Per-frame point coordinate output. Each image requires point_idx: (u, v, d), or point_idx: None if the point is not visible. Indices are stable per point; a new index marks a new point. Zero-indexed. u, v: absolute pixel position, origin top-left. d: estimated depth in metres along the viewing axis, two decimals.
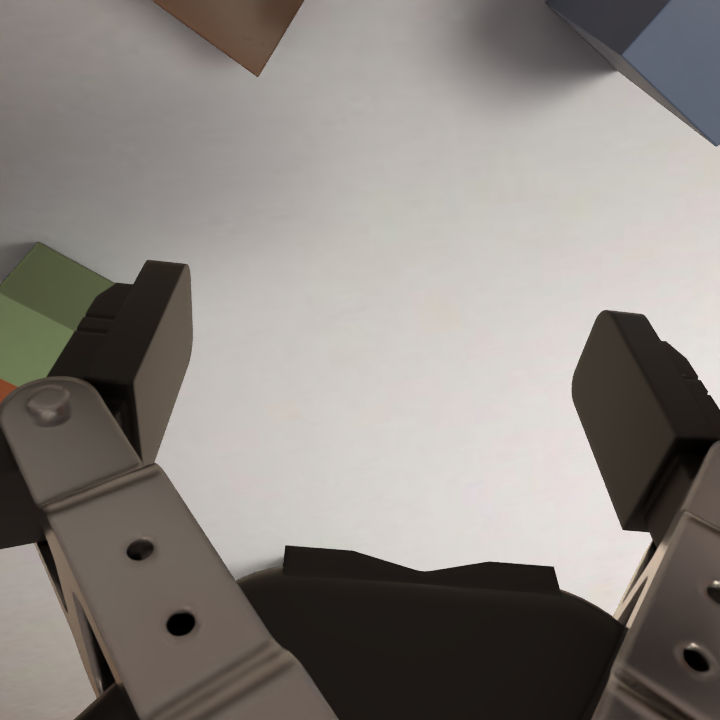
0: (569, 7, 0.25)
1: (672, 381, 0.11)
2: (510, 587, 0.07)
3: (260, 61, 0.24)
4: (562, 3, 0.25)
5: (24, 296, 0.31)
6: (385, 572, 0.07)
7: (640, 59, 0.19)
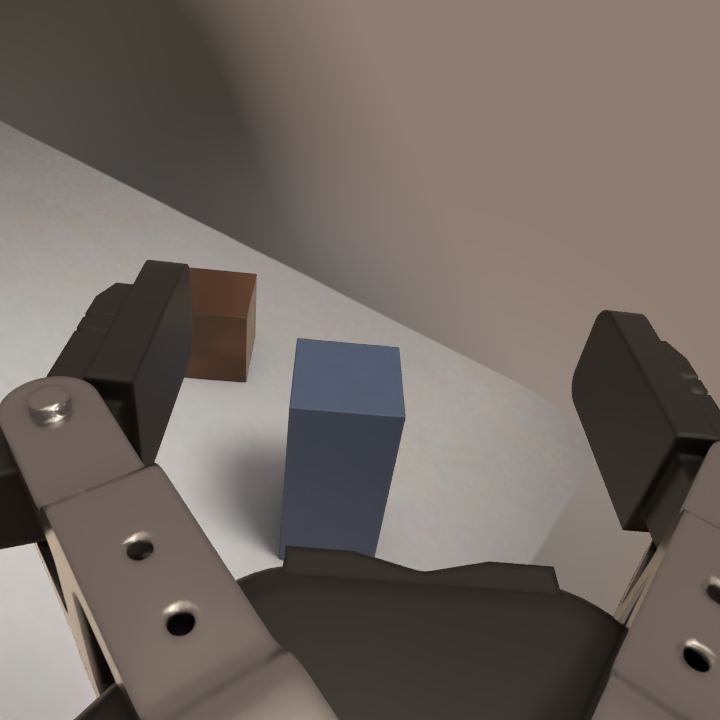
0: None
1: (672, 381, 0.11)
2: (510, 587, 0.07)
3: None
4: None
5: None
6: (385, 572, 0.07)
7: (302, 345, 0.29)
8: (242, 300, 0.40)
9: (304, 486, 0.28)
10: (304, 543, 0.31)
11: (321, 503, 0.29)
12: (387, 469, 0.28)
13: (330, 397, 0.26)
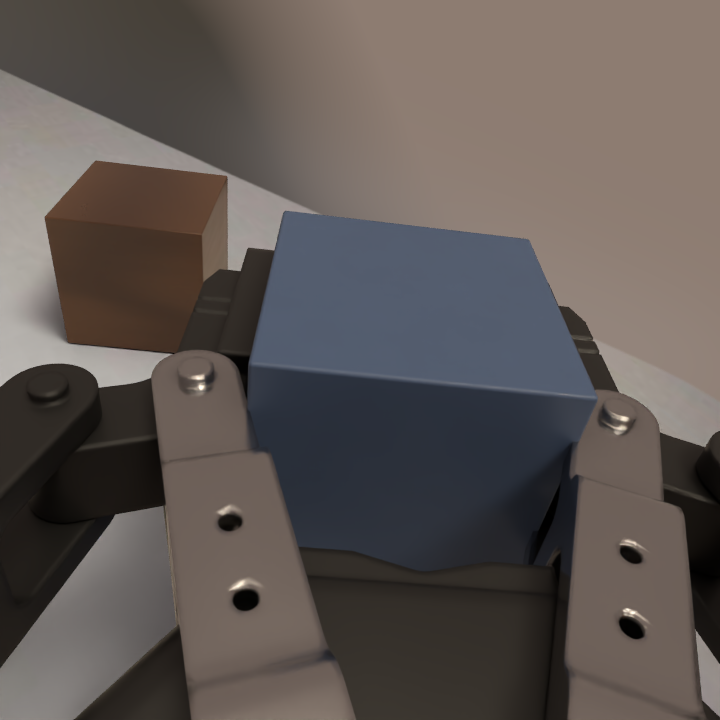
0: None
1: None
2: (510, 587, 0.07)
3: (63, 216, 0.21)
4: None
5: None
6: (385, 572, 0.07)
7: (296, 224, 0.11)
8: (197, 209, 0.23)
9: None
10: None
11: None
12: (516, 543, 0.10)
13: (370, 338, 0.09)
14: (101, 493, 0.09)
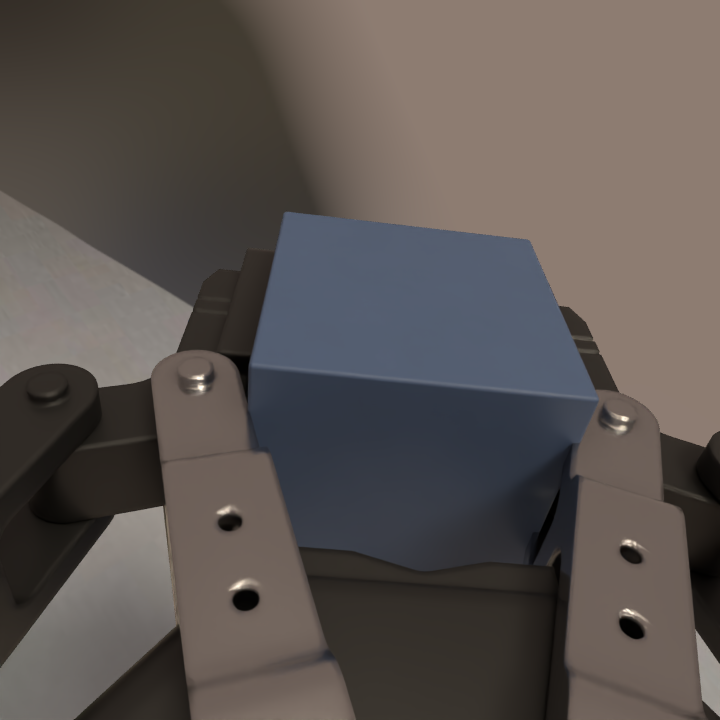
0: None
1: None
2: (510, 587, 0.07)
3: None
4: None
5: None
6: (386, 572, 0.07)
7: (296, 225, 0.11)
8: None
9: None
10: None
11: None
12: (517, 544, 0.10)
13: (371, 340, 0.09)
14: (101, 493, 0.09)
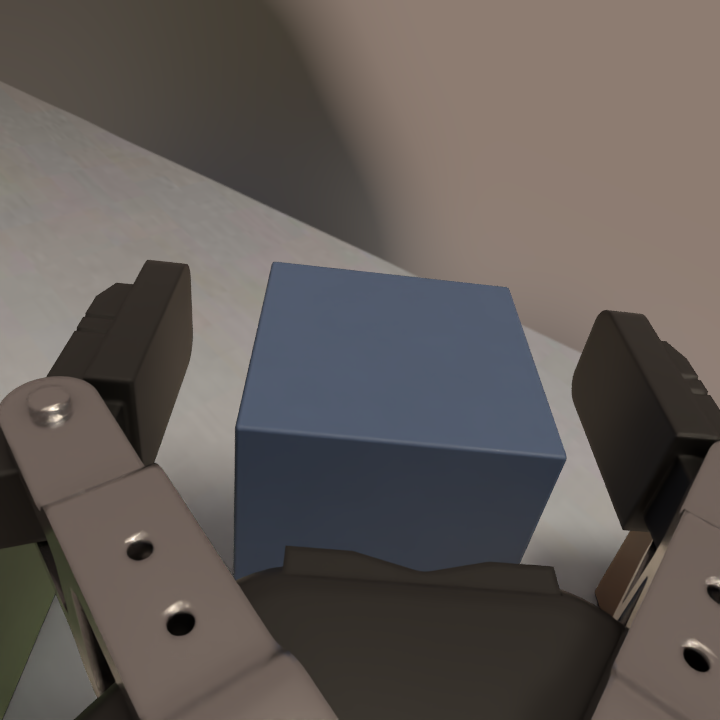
0: None
1: (672, 381, 0.11)
2: (510, 587, 0.07)
3: None
4: None
5: None
6: (386, 573, 0.07)
7: (284, 276, 0.12)
8: None
9: None
10: None
11: None
12: None
13: (352, 398, 0.09)
14: None
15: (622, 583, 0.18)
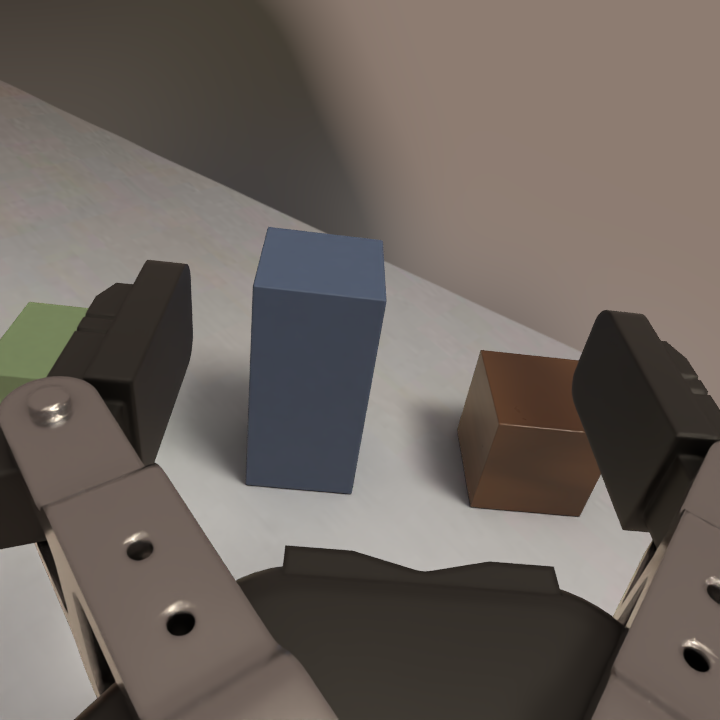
0: None
1: (672, 381, 0.11)
2: (510, 587, 0.07)
3: (511, 421, 0.26)
4: None
5: None
6: (386, 572, 0.07)
7: (273, 233, 0.25)
8: None
9: (272, 390, 0.25)
10: (274, 465, 0.27)
11: (292, 413, 0.26)
12: (366, 369, 0.24)
13: (300, 279, 0.23)
14: None
15: (466, 416, 0.31)
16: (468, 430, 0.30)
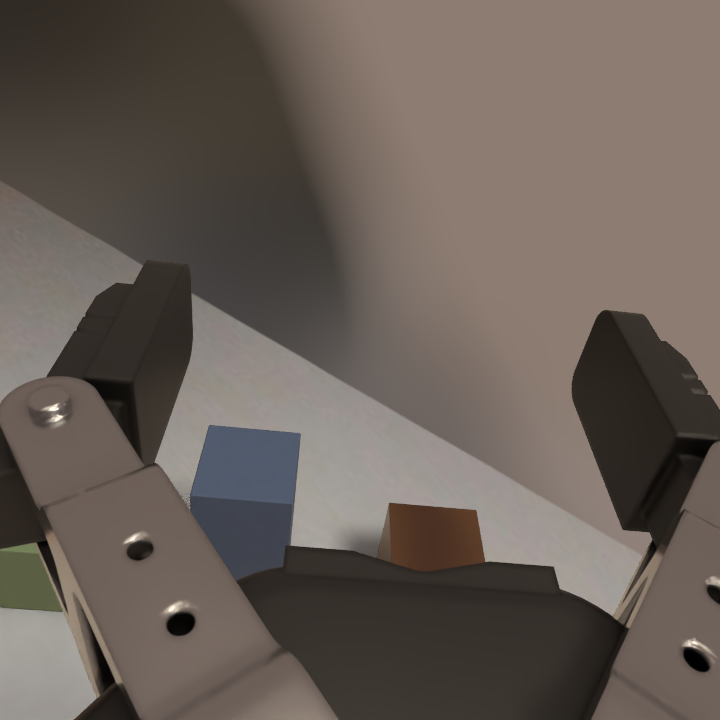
0: None
1: (672, 381, 0.11)
2: (510, 587, 0.07)
3: None
4: None
5: None
6: (386, 573, 0.07)
7: (212, 432, 0.32)
8: (475, 556, 0.34)
9: None
10: None
11: None
12: (283, 545, 0.31)
13: (228, 484, 0.30)
14: None
15: (380, 551, 0.38)
16: None
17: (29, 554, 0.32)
